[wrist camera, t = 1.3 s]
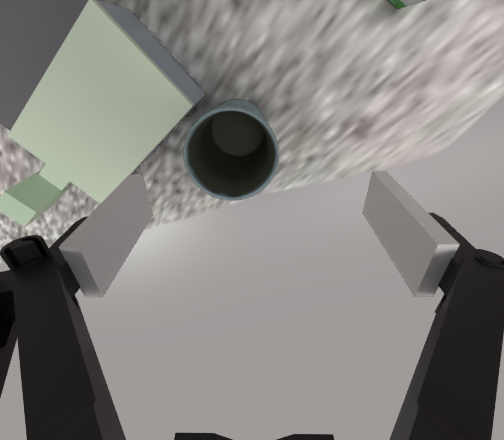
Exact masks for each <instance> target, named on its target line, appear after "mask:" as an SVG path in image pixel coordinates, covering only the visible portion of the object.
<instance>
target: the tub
mask: <svg viewBox="0 0 504 440" xmlns="http://www.w3.org/2000/svg"><path fill="white" fill-rule="evenodd" d="M96 1H97V2H98V3H99V4H100V5H101V6H102V7H103V8H104V9H105V10H106V11H107V12H108V13H109V15H110V16H111V17H112V18H113V19H114V20H115V21H116V22H117V23H118V24H119V25H120V26H121V27H122V28H123V29H124V30H125V31H126V33H127V34H128V35H129V36H130V37H131V38H132V39H133V40H134V41H135V42H136V43H137V44H138V45H139V46H140V47H141V48H142V49H143V51H144V52H145V53H146V54H147V55H148V56H149V57H150V58H151V59H152V60H153V61H154V62H155V63H156V64H157V65H158V66H159V67H160V69H161V70H162V71H163V72H164V73H165V74H166V75H167V76H168V77H169V78H170V79H171V80H172V81H173V82H174V83H175V84H176V85H177V87H178V88H179V89H180V90H181V91H182V92H183V93H184V94H185V95H186V96H187V97H188V98H189V99H190V100H191V101H192V102H193V103H194V106H193V107H192V108H191V109H190V110H189V111H188V112H187V113H186V114H185V116H186V115H187V114H188V113H189V112H190V111H191V110H192V109H193V108H194V107H195V106H196V104H197V103H198V102H199V101H200V100H201V99H202V98H203V97H204V96H205V95H206V93H205V92H204V91H203V89H202V88H201V87H200V86H199V85H198V84H197V83H196V82H195V81H194V80H193V78H192V77H191V76H190V75H189V74H188V73H187V72H186V71H185V70H184V68H183V67H182V66H181V65H180V64H179V63H178V62H177V61H176V60H175V59H174V57H173V56H172V55H171V54H170V53H169V52H168V51H167V50H166V49H165V47H164V46H163V45H162V44H161V43H160V42H159V41H158V40H157V39H156V38H155V36H154V35H153V34H152V33H151V32H150V31H149V30H148V29H147V28H146V26H145V25H144V24H143V23H142V22H141V21H140V20H139V19H138V18H137V17H136V15H135V14H134V13H133V12H132V11H131V10H129V9H126V8H122V7H119V6H115V5H112V4H108V3H105V2H101V1H98V0H96ZM185 116H184V117H185ZM184 117H183V118H184ZM183 118H182V119H181V120H180V121H179V122H178V123H177V124H176V125H175V126H174V127H173V129H174V128H175V127H176V126H177V125H178V124H179V123H180V122H181V121H182V120H183ZM173 129H172V130H173ZM172 130H171V131H172ZM171 131H170V132H171ZM170 132H169V133H168V134H167V135H166V136H165V137H164V138H163V139H162V140H161V141H160V143H161V142H162V141H163V140H164V139H165V138H166V137H167V136H168V135H169V134H170ZM160 143H159V144H160ZM159 144H158V145H159ZM158 145H157V146H158ZM157 146H156V147H155V148H154V149H153V150H152V151H151V152H150V153H149V154H148V156H149V155H150V154H151V153H152V152H153V151H154V150H155V149H156V148H157ZM148 156H147V157H148ZM147 157H146V158H147ZM146 158H145V159H146ZM145 159H144V160H145ZM144 160H143V161H142V162H141V163H140V164H139V165H138V166H137V167H136V169H137V168H138V167H139V166H140V165H141V164H142V163H143V162H144ZM136 169H135V170H136ZM135 170H134V171H135ZM134 171H133V172H134ZM133 172H132V173H133ZM132 173H131V174H132ZM131 174H130V175H131Z"/></svg>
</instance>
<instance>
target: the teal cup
mask: <svg viewBox="0 0 504 440" xmlns="http://www.w3.org/2000/svg"><path fill="white" fill-rule="evenodd" d="M183 158H184V163H185V167H186V170H187V172H188V174H189V176H190V177H191V179H192V180H193V182H194V183H195V184H196V185H197V186H198V187H199V188H200V189H201V190H203V191H204V192H205V193H207V194H209V195H211V196H213V197H215V198H219V199H223V200H242V199H246V198H249V197H252V196H254V195H256V194H257V193H259V192H260V191H262V190H263V189H264V188H265V187H266V186H267V185H268V184H269V183H270V182H271V180H272V179H273V177H274V175H275V173H276V170H277V166H278V162H279V147H278V143H277V140H276V137H275V135H274V133H273V131H272V130H271V128H270V127H269V125H268V123H267V121H266V120H265V118H264V116H263V114H262V113H261V111H260V110H259V109H258V108H257V107H256V106H255V105H253V104H252V103H250V102H247V101H245V100H239V99H234V100H229V101H226V102H224V103H222V104H220V105H219V106H218V107H216V108H214V109H212V110H211V111H209V112H207V113H205V114H204V115H203V116H201V117H200V118H199V119H198V120H197V121H196V122H195V123H194V125H193V126H192V127H191V129H190V130H189V132H188V134H187V137H186V139H185V143H184V150H183Z"/></svg>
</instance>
